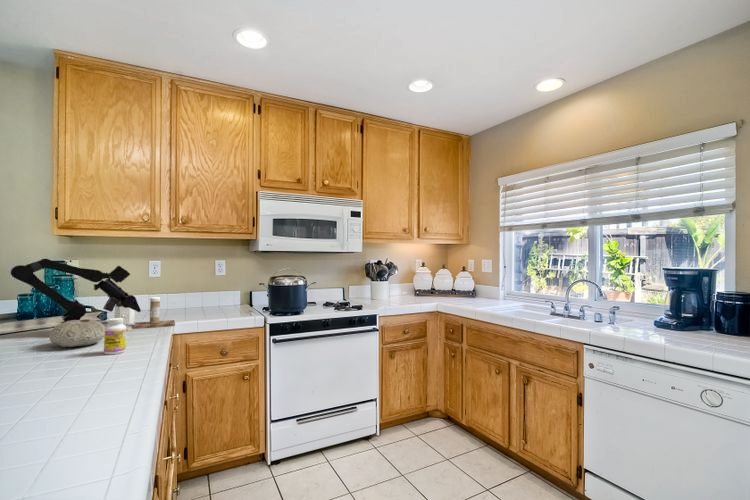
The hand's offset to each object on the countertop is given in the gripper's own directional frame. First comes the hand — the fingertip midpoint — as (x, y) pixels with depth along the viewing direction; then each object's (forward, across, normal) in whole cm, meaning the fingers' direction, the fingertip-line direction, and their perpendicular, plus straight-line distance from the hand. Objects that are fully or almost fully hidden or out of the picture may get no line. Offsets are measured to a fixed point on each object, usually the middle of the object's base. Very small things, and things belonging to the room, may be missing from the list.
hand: (137, 310), depth 181 cm
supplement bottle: (-6, +47, -19) cm, 51 cm away
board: (+12, 0, 0) cm, 12 cm away
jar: (+5, -16, -7) cm, 19 cm away
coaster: (0, +4, -12) cm, 13 cm away
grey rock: (-12, +24, -25) cm, 37 cm away
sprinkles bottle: (+11, 0, 0) cm, 11 cm away
